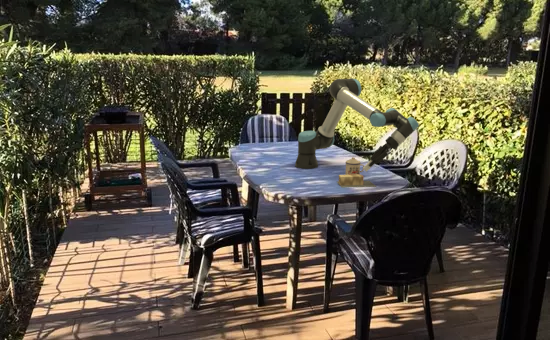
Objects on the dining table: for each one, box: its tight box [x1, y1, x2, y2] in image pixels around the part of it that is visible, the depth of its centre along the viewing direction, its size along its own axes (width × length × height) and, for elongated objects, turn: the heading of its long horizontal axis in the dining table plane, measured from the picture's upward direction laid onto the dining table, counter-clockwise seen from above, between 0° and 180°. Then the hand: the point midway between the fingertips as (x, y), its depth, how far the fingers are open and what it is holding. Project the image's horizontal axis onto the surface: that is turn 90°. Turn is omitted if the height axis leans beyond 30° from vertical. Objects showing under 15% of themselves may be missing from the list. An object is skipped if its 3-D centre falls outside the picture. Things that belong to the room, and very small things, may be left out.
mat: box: [336, 180, 377, 189], centre depth 251 cm, size 20×13×1 cm, turn 96°
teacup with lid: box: [344, 156, 365, 175], centre depth 270 cm, size 12×9×12 cm
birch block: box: [338, 173, 365, 187], centre depth 250 cm, size 5×5×13 cm
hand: (364, 169), depth 249 cm, fingers closed
